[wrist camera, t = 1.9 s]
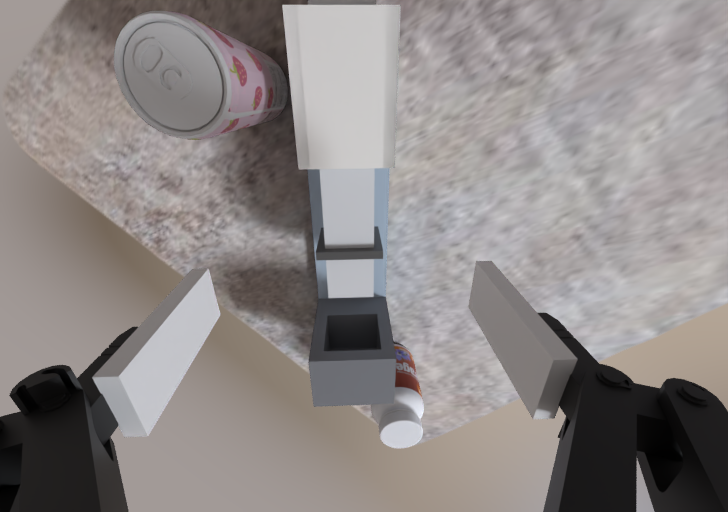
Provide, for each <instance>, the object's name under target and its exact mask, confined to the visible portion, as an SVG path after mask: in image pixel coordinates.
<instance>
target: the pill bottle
mask: <svg viewBox="0 0 728 512" xmlns="http://www.w3.org/2000/svg"><path fill="white" fill-rule="evenodd" d="M394 348H395V354H396V376H395V395H394V404H371V412H372V416H373V418H374V420H375V421H376V422H377V423H378V424H379V432H380V438H381V441H382V442H383V443H384V444H385V445H387V446H389V447H393V448H406V447H410V446H413V445H414V444H416V443H417V442H419V441H420V439H421V438H422V435H423V429H422V424H421V420H420V419H421V417H422V415H423V412H424V404H423V399H422V395H421V390H420V386H419V382H418V378H417V373H416V369H415V364H414V360H413V356H412V354H411V352H410V351H409V350H408V349H407V348H405V347H404V346H401V345H398V344H394Z"/></svg>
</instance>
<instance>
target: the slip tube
mask: <svg viewBox="0 0 728 512" xmlns="http://www.w3.org/2000/svg"><path fill="white" fill-rule="evenodd" d="M308 5H376V0H308ZM374 180H375V168H366V169H320V182H321V197H322V211H323V226H324V228H321V231H320V236H319V240H318V244H317V249H316V260H326V269H327V283H328V298H351V297H374V259H383V248H382V243H381V238H380V233H379V229H378V226H377V227H374Z"/></svg>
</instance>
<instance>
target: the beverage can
mask: <svg viewBox="0 0 728 512" xmlns="http://www.w3.org/2000/svg"><path fill="white" fill-rule="evenodd" d="M114 68H115V73H116V78H117V81H118V83H119V86H120V88H121V91H122V93H123V95H124V96H125V98H126V100H127V101H128V103H129V105H130V106H131V107H132V108H133V109H134V111H135V112H136V113H137V114H138V115H139V116H140V117H141V118H142V119H143V120H144V121H145V122H146V123H148V124H149V125H150V126H152V127H153V128H155V129H157V130H158V131H160V132H162V133H165V134H167V135H169V136H172V137H177V138H182V139H189V140H201V139H205V138H210V137H213V136H217V135H221V134H224V133H228V132H232V131H235V130H239V129H242V128H246V127H250V126H253V125H257V124H261V123H264V122H268V121H271V120H273V119H275V118H276V117H277V116H278V115H279V114H280V113H281V112H282V110H283V109H284V107H285V105H286V102H287V97H288V87H287V81H286V78H285V76H284V73H283V71H282V70H281V68H280V66H279V65H278V64H277V63H276V62H275V60H273V59H272V58H271V57H270V56H268V55H267V54H265V53H263V52H261V51H259V50H257V49H255V48H253V47H251V46H248V45H246V44H244V43H242V42H240V41H238V40H236V39H234V38H232V37H230V36H228V35H226V34H224V33H222V32H220V31H218V30H216V29H214V28H212V27H210V26H208V25H206V24H204V23H202V22H200V21H198V20H196V19H194V18H192V17H190V16H188V15H185V14H181V13H177V12H173V11H149V12H145V13H141V14H139V15H137V16H136V17H134V18H132V19H131V20H129V21H128V23H127V24H126V25H125V26H124V27H123V28H122V30H121V32H120V34H119V36H118V38H117V40H116V45H115V50H114Z"/></svg>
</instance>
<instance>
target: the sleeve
mask: <svg viewBox="0 0 728 512" xmlns="http://www.w3.org/2000/svg"><path fill="white" fill-rule="evenodd" d="M282 7H283V17H284V27H285V38H286V48H287V58H288V68H289V78H290V88H291V98H292V108H293V118H294V128H295V139H296V149H297V159H298V169H366V168H395V146H396V118H397V90H398V63H399V35H400V7H401V5H282Z"/></svg>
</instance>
